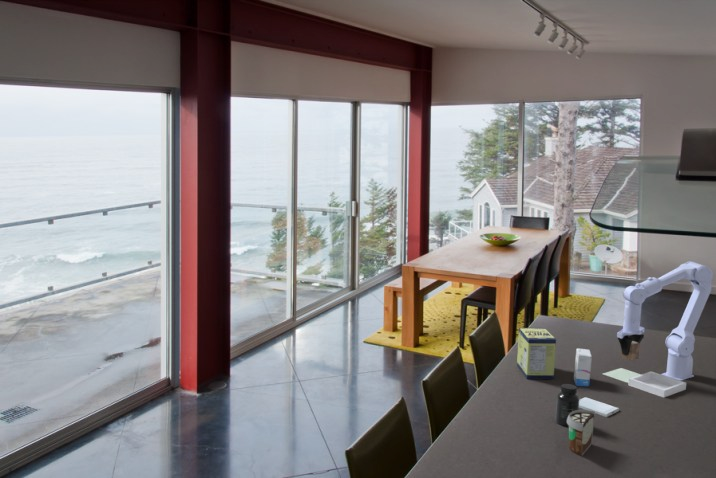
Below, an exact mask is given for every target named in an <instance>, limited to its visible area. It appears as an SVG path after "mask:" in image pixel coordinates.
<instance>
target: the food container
mask: <svg viewBox="0 0 716 478" xmlns="http://www.w3.org/2000/svg"><path fill="white" fill-rule="evenodd" d="M595 418H596V413H595V411H590V410H584V409H579V410H576V411H572V412H571V413H570V414H569V415H568V418H567V424H568V425H569V426H568V448H569V450H570V451H571V452H572V453H574V454H576V455H578V456H584V454H585V453H586V451H588V449H589V448H590V447H591V445H592V443H593V435H594V434H593V433H594V425H595V423H594V422H595Z"/></svg>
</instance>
